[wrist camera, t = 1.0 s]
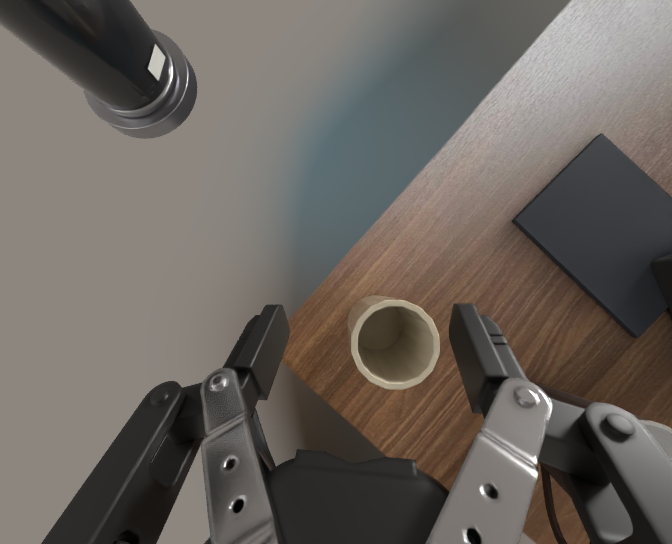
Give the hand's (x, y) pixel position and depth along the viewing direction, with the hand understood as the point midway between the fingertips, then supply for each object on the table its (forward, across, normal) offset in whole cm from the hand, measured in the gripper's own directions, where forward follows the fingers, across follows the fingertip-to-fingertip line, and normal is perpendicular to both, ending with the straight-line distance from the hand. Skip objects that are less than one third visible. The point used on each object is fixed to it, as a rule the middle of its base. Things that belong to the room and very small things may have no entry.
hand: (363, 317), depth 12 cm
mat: (+20, -27, +7) cm, 34 cm away
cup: (+11, 0, +12) cm, 17 cm away
